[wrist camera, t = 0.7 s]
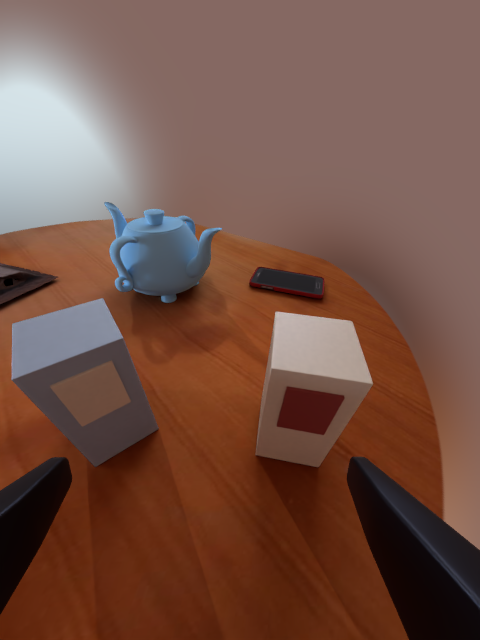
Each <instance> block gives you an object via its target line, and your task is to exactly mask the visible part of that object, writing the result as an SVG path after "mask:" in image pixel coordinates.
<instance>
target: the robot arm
mask: <svg viewBox="0 0 480 640" xmlns="http://www.w3.org/2000/svg"><path fill="white" fill-rule="evenodd" d="M71 482H72V474H71V470H70V465H69V461H68V459H67V458H65V457H54V458H51V459H49V460H47V461H46V462H44V463H43V464H41V465H39V466H38V467H36V468H35V469H33V470H32V471H30V472H29V473H27V474H25V475H24V476H22V477H21V478H19V479H18V480H16V481H15V482H13V483H11V484H10V485H8V486H7V487H5V488H4V489H2V490H1V491H0V614H1V613H2V611H3V609H4V608H5V606H6V604H7V603H8V601H9V599H10V597H11V596H12V594H13V592H14V591H15V589H16V587H17V586H18V584H19V582H20V580H21V579H22V577H23V575H24V574H25V572H26V570H27V569H28V567H29V565H30V563H31V562H32V560H33V558H34V557H35V555H36V553H37V551H38V549H39V548H40V546H41V544H42V542H43V540H44V538H45V536H46V534H47V532H48V530H49V528H50V526H51V524H52V522H53V520H54V518H55V516H56V514H57V512H58V510H59V508H60V506H61V504H62V502H63V500H64V498H65V496H66V494H67V492H68V490H69V488H70V485H71ZM347 482H348V486H349V489H350V492H351V495H352V498H353V501H354V504H355V507H356V510H357V513H358V516H359V519H360V522H361V525H362V528H363V530H364V533H365V536H366V539H367V542H368V544H369V547H370V549H371V552H372V554H373V557H374V559H375V561H376V563H377V566H378V568H379V570H380V573H381V575H382V577H383V580H384V582H385V584H386V587H387V589H388V591H389V594H390V596H391V598H392V601H393V603H394V605H395V608H396V610H397V612H398V615H399V617H400V619H401V622H402V624H403V626H404V629H405V631H406V633H407V636H408V638H409V640H480V550H479V549H477V548H476V547H475V546H474V545H473V544H471V543H470V542H469V541H468V540H466V539H465V538H464V537H463V536H461V535H460V534H459V533H458V532H457V531H455V530H454V529H453V528H452V527H450V526H449V525H448V524H446V523H445V522H444V521H443V520H442V519H441V518H439V517H438V516H437V515H436V514H434V513H433V512H432V511H431V510H429V509H428V508H427V507H426V506H424V505H423V504H422V503H421V502H420V501H418V500H417V499H416V498H415V497H413V496H412V495H411V494H410V493H408V492H407V491H406V490H405V489H404V488H402V487H401V486H400V485H399V484H397V483H396V482H395V481H394V480H392V479H391V478H390V477H389V476H387V475H386V474H385V473H384V472H383V471H381V470H380V469H379V468H378V467H376V466H375V465H374V464H373V463H371V462H370V461H369V460H368V459H366V458H365V457H352V458H351V459H350V463H349V468H348V473H347Z"/></svg>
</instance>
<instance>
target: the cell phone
mask: <svg viewBox="0 0 480 640" xmlns="http://www.w3.org/2000/svg"><path fill="white" fill-rule="evenodd" d="M249 284H250V285H251V286H254V287H259V288H266V289H271V290H275V291H280V292H285V293H291V294H296V295H301V296H307V297H312V298H318V299H321V298H322V297H323V294H324V278H322V277H318V276H312V275H306V274H300V273H294V272H288V271H282V270H276V269H270V268H265V267H258V268H257V269H256V270H255V272H254V274H253V276H252V277H251V279H250V282H249Z"/></svg>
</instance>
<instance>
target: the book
mask: <svg viewBox="0 0 480 640" xmlns="http://www.w3.org/2000/svg"><path fill="white" fill-rule="evenodd" d="M9 278H12V280H13V285H11V286H7V287H5V285H4V284H3V281H4V280H6V279H9ZM55 278H57V276H56V277H55V276H53V275H48V274H41V273H40V272H38V271H31V270H28V269H24V268H19V267H14V266H11V265H10V266H9V265H5V264H2V263H0V304H2V303H4V302H6V301H9V300H11V299H13V298H15V297H17V296H19V295H21V294H23V293H25V292H27V291H30V290H33V289H35V288H37V287H39V286H42V285H43V284H44V283H48V282H50V281H52V280H53V279H55ZM14 279H19V280H18V281H17V280H14Z"/></svg>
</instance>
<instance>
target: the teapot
mask: <svg viewBox="0 0 480 640" xmlns="http://www.w3.org/2000/svg"><path fill="white" fill-rule="evenodd" d="M104 204H105V206H106V207H107V209H108V210H109V212H110V213H111V215H112V218H113V221H114V226H115V233H116V240H114V242H113V243H112V244H111V246H110V257H111V259H112V261H113V263H114V265H115V267H116V268H117V270H118V274H119V277H118V278H117V279H116V281H115V286H116V288H117V289H118V290H119V291H121V292H129V291H131V290H132V289H134V290H135V291H136V292H140V293H143V294H147V295H153V296H161V301H162V302H165V303H171V302H174V301H175V300H176V299H177V297H176V294H177V293H180V292H183V291H186V290H188V289H190V288H191V287H193V286H196V285H198V284H199V282H198V281H199V280H200V279H201V278H202V276H203V275H204V273H205V271H206V270H207V269H208V267H209V264H210V260H211V241H212V238H213V236H214V235H215V234H216V233H217V232H218V231H220V230H221V229H222V228H211V229H207V230H205V231H204V232H203V233H202V234H201V237H200V240H199V242H198V240H197V238H196V237H195V224H194V222H193V220H192V219H191V218H189V217H187V216H179V217H177V218H175V217H168V216H164V211H163V210H160V209H150V210H146V211H144V215H145V217H143V218H139V219H135V220H133V221H130V222H129V223H128V224H127V222H126V220H125V218H124V217H123V215H122V213H121V212H120V210H119V209H118V208H117V207H116V206H115V205H113V204H112V203H109V202H105V203H104ZM185 221H186V223H187V225H186V224H185ZM122 282H124V285H123V286H122Z"/></svg>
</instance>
